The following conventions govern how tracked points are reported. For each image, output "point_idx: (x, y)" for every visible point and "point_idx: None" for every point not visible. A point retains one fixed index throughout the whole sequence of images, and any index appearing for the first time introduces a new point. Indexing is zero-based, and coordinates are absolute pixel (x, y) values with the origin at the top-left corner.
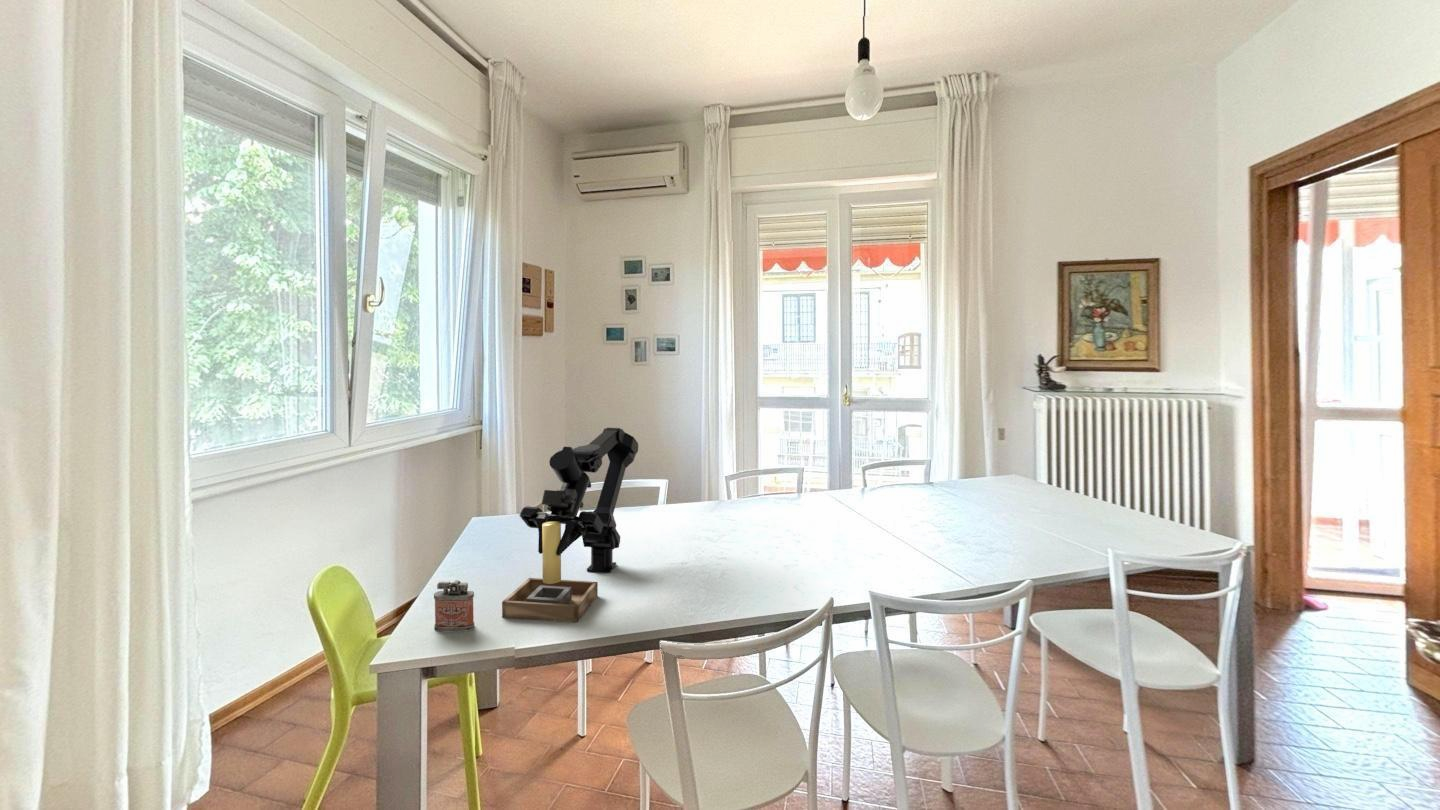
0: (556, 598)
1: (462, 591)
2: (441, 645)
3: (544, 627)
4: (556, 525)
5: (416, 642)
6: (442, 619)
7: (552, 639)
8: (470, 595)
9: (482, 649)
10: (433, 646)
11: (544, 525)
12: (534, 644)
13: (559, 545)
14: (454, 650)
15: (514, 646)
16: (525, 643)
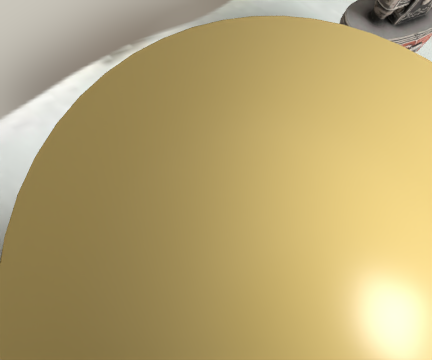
0: None
1: (393, 18)
2: (286, 12)
3: None
4: (68, 206)
5: (349, 5)
6: None
7: (18, 137)
8: (344, 13)
9: (178, 27)
10: (298, 3)
11: (376, 64)
12: (56, 93)
13: None
14: (237, 4)
15: (107, 65)
16: (88, 88)
